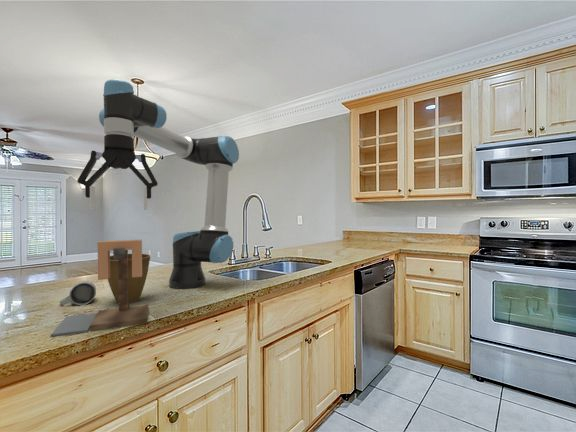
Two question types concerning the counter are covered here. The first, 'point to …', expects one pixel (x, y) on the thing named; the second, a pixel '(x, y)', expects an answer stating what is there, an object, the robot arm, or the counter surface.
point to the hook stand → (121, 302)
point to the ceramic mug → (81, 293)
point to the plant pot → (133, 282)
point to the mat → (74, 325)
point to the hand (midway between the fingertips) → (119, 209)
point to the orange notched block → (108, 246)
